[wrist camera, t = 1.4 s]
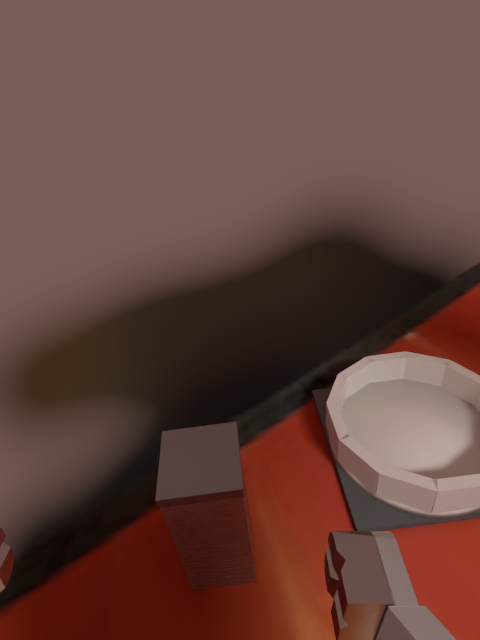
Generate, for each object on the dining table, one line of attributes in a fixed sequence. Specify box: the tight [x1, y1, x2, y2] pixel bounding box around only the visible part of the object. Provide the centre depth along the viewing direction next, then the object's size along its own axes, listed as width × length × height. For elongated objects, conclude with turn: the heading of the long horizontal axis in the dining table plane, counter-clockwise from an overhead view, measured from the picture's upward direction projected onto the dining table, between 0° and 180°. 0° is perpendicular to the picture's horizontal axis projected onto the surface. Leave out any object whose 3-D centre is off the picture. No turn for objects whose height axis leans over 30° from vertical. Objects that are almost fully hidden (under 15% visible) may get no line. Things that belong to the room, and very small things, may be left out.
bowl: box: [326, 352, 480, 518], centre depth 38 cm, size 16×16×4 cm
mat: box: [312, 388, 480, 531], centre depth 40 cm, size 16×16×1 cm
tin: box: [155, 422, 257, 590], centre depth 30 cm, size 5×5×12 cm
